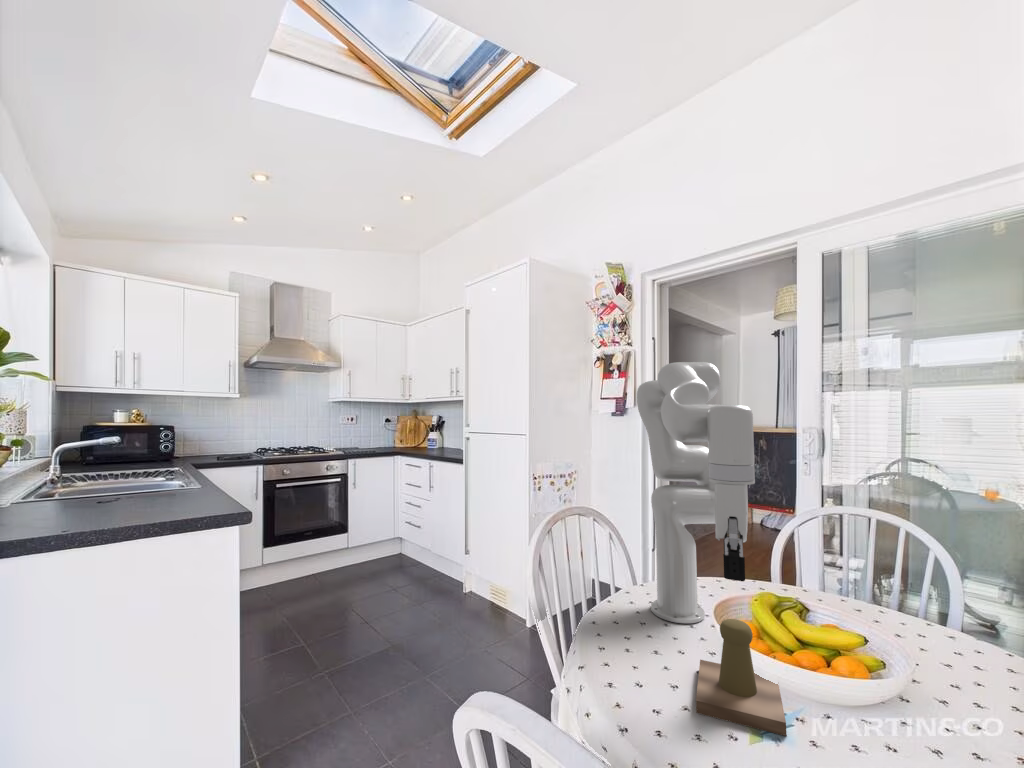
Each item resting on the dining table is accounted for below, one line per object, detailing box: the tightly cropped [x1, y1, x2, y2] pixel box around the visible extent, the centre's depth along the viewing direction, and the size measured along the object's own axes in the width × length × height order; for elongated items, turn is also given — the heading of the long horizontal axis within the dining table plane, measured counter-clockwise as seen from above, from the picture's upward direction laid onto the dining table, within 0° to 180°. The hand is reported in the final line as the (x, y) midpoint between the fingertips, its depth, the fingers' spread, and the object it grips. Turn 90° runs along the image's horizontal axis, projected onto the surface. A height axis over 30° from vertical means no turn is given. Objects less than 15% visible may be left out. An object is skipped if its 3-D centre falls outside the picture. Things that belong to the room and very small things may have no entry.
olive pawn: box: [719, 618, 757, 697], centre depth 80 cm, size 6×6×11 cm
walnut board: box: [695, 659, 788, 737], centre depth 80 cm, size 14×13×2 cm
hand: (734, 570), depth 81 cm, fingers open, 9 cm apart
